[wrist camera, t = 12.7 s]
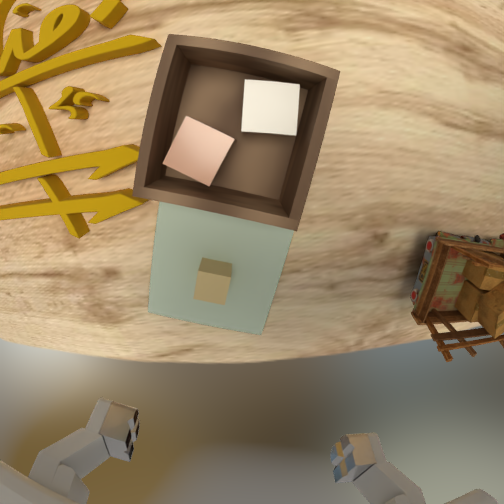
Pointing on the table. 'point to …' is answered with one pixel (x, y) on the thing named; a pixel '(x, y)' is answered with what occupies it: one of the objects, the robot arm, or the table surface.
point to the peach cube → (198, 150)
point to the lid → (215, 268)
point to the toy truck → (461, 289)
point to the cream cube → (270, 107)
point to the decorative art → (109, 161)
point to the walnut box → (234, 130)
